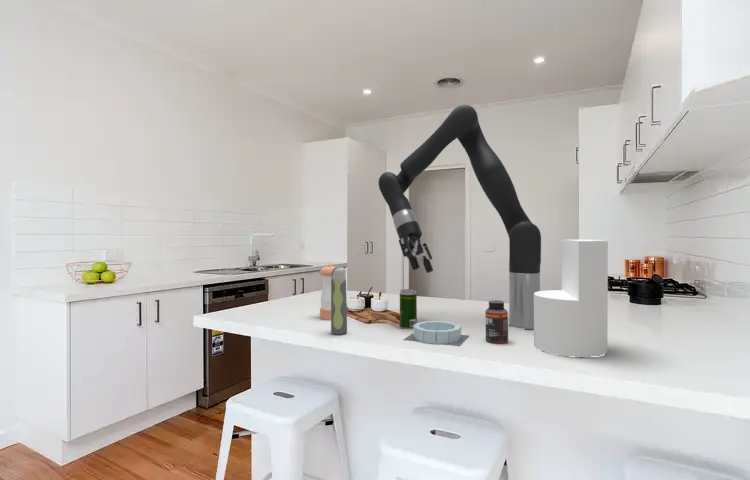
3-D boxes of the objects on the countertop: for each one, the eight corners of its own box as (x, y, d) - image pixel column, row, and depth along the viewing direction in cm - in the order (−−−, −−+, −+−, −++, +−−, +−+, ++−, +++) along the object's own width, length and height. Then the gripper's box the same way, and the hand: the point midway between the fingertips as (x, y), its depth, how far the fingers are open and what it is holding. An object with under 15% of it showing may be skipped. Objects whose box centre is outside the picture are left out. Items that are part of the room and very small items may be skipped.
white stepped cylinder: (595, 340, 115) (595, 239, 114) (618, 360, 98) (618, 241, 98) (529, 338, 119) (529, 239, 118) (540, 356, 102) (540, 241, 101)
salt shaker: (315, 318, 148) (315, 264, 148) (330, 315, 154) (330, 262, 153) (329, 321, 143) (329, 265, 143) (344, 317, 149) (344, 263, 148)
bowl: (465, 334, 121) (465, 323, 121) (453, 346, 110) (453, 333, 110) (422, 330, 127) (422, 319, 127) (407, 340, 115) (407, 329, 115)
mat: (469, 336, 120) (469, 335, 120) (459, 347, 110) (459, 346, 110) (417, 331, 127) (417, 330, 127) (402, 341, 116) (402, 339, 116)
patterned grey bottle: (346, 335, 124) (345, 267, 123) (329, 335, 124) (329, 267, 123) (348, 331, 128) (347, 266, 128) (332, 331, 129) (331, 266, 128)
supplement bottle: (508, 340, 116) (508, 300, 116) (507, 346, 110) (507, 303, 110) (486, 339, 118) (486, 299, 118) (484, 344, 112) (484, 302, 112)
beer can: (420, 328, 131) (420, 290, 131) (408, 331, 128) (407, 292, 128) (408, 325, 135) (408, 288, 135) (396, 328, 132) (395, 290, 132)
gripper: (404, 216, 130) (421, 262, 123) (426, 224, 141) (443, 267, 135) (385, 227, 133) (401, 273, 127) (409, 235, 145) (425, 277, 138)
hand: (423, 270), depth 131 cm, fingers open, 8 cm apart
